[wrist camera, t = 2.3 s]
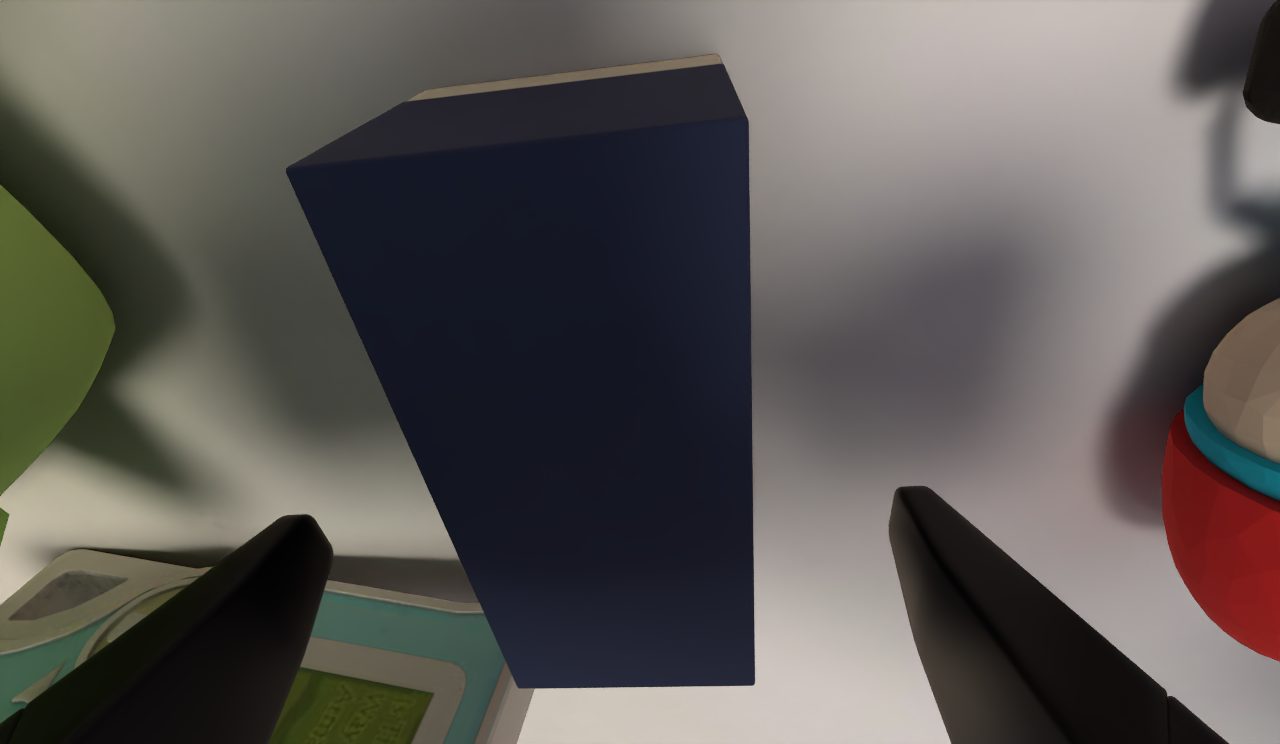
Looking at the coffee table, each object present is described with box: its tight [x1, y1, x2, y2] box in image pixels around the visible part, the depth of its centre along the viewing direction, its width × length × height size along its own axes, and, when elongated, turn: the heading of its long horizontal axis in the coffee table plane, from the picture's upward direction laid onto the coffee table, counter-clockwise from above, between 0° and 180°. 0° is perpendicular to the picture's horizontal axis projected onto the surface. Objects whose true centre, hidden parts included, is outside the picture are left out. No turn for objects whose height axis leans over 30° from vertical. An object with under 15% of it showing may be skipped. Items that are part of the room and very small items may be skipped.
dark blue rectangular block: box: [286, 54, 755, 689], centre depth 11 cm, size 11×5×4 cm, turn 7°
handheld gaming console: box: [0, 549, 535, 744], centre depth 15 cm, size 11×3×15 cm
